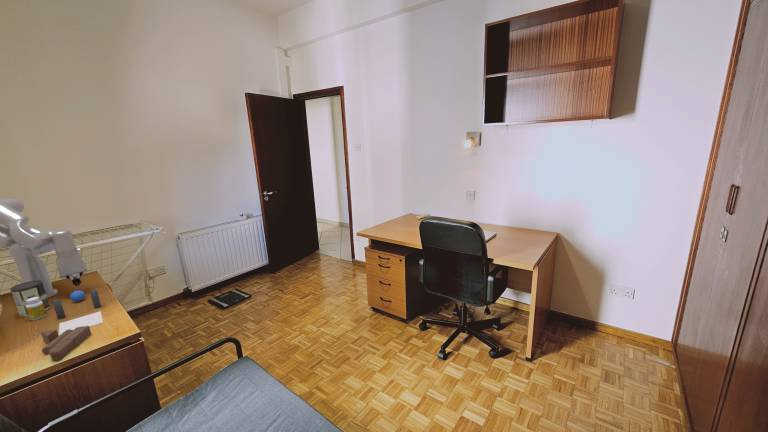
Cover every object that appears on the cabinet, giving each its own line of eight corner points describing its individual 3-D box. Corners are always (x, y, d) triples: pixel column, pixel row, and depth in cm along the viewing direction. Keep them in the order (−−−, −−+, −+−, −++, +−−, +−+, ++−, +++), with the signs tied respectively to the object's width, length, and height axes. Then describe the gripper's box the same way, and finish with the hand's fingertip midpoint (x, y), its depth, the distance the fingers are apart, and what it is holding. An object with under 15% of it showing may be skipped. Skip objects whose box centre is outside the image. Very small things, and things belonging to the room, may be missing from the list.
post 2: (94, 307, 153) (89, 290, 151) (101, 305, 155) (96, 288, 152) (94, 308, 151) (89, 292, 149) (101, 306, 153) (97, 290, 151)
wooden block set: (90, 322, 131) (57, 348, 114) (93, 333, 132) (61, 362, 115) (42, 327, 127) (0, 356, 110) (45, 339, 128) (5, 369, 111)
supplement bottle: (35, 321, 141) (29, 302, 139) (26, 320, 142) (20, 301, 140) (49, 314, 147) (44, 296, 144) (41, 313, 148) (35, 295, 145)
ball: (71, 301, 159) (68, 291, 158) (86, 297, 163) (83, 287, 162) (71, 304, 155) (68, 294, 154) (86, 300, 159) (83, 290, 158)
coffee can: (39, 304, 156) (31, 279, 153) (56, 306, 154) (48, 280, 151) (13, 315, 146) (3, 289, 143) (29, 317, 144) (20, 290, 141)
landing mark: (59, 323, 139) (59, 323, 139) (100, 311, 148) (100, 311, 148) (59, 336, 129) (59, 336, 129) (103, 322, 139) (103, 322, 139)
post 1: (57, 317, 144) (52, 300, 142) (65, 315, 146) (60, 298, 144) (57, 319, 142) (52, 302, 140) (65, 317, 144) (60, 300, 142)
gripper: (86, 247, 168) (95, 278, 172) (46, 256, 158) (58, 288, 162) (87, 250, 163) (96, 282, 167) (46, 259, 152) (57, 292, 157)
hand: (77, 285), depth 164 cm, fingers closed
